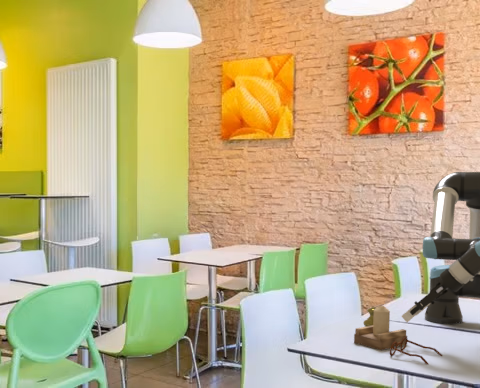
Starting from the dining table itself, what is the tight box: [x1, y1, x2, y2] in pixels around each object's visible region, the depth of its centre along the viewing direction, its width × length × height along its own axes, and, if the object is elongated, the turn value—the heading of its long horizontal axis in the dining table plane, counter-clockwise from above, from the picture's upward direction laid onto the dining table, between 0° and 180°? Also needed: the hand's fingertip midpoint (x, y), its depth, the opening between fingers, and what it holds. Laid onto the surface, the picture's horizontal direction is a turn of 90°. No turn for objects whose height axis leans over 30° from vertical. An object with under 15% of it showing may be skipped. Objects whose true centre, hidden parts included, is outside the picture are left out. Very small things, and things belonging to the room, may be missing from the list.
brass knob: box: [363, 306, 377, 327], centre depth 218 cm, size 7×7×10 cm
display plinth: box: [353, 326, 408, 351], centre depth 204 cm, size 14×12×5 cm
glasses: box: [389, 336, 443, 365], centre depth 188 cm, size 13×13×5 cm
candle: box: [373, 305, 391, 336], centre depth 204 cm, size 6×6×10 cm
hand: (409, 315), depth 199 cm, fingers open, 13 cm apart
